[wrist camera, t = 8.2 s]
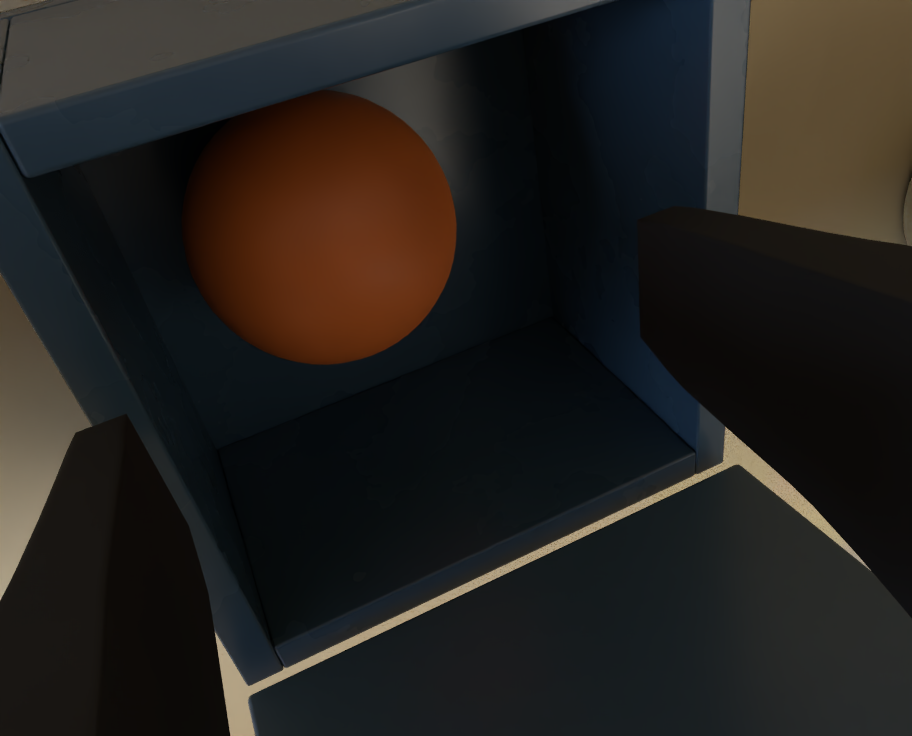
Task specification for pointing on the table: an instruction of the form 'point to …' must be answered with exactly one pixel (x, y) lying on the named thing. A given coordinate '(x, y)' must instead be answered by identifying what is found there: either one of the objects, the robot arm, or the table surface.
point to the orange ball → (319, 228)
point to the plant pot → (908, 215)
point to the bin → (439, 334)
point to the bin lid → (636, 639)
